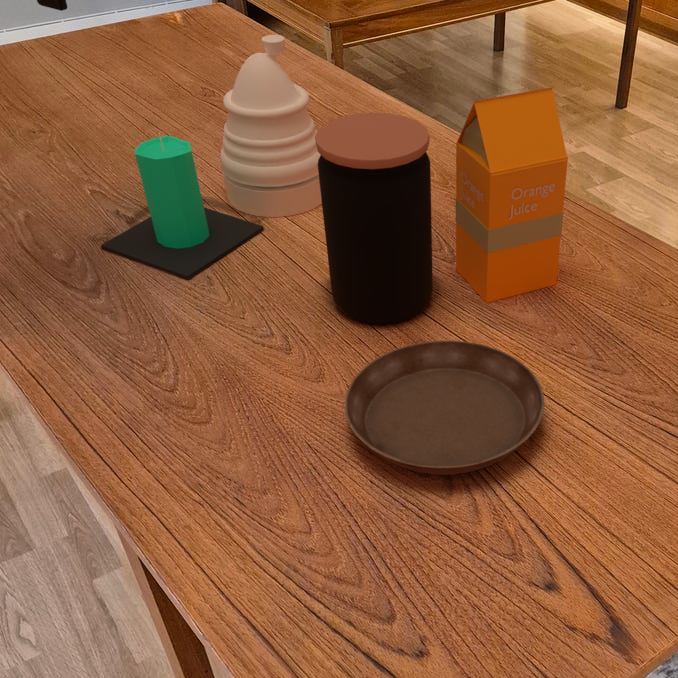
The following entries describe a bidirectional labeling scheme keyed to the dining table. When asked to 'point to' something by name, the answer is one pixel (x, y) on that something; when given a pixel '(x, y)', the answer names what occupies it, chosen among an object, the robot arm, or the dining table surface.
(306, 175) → the honey pot
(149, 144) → the candle
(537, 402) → the plant saucer
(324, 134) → the coffee jar
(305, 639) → the dining table surface
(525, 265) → the orange juice
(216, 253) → the mat
